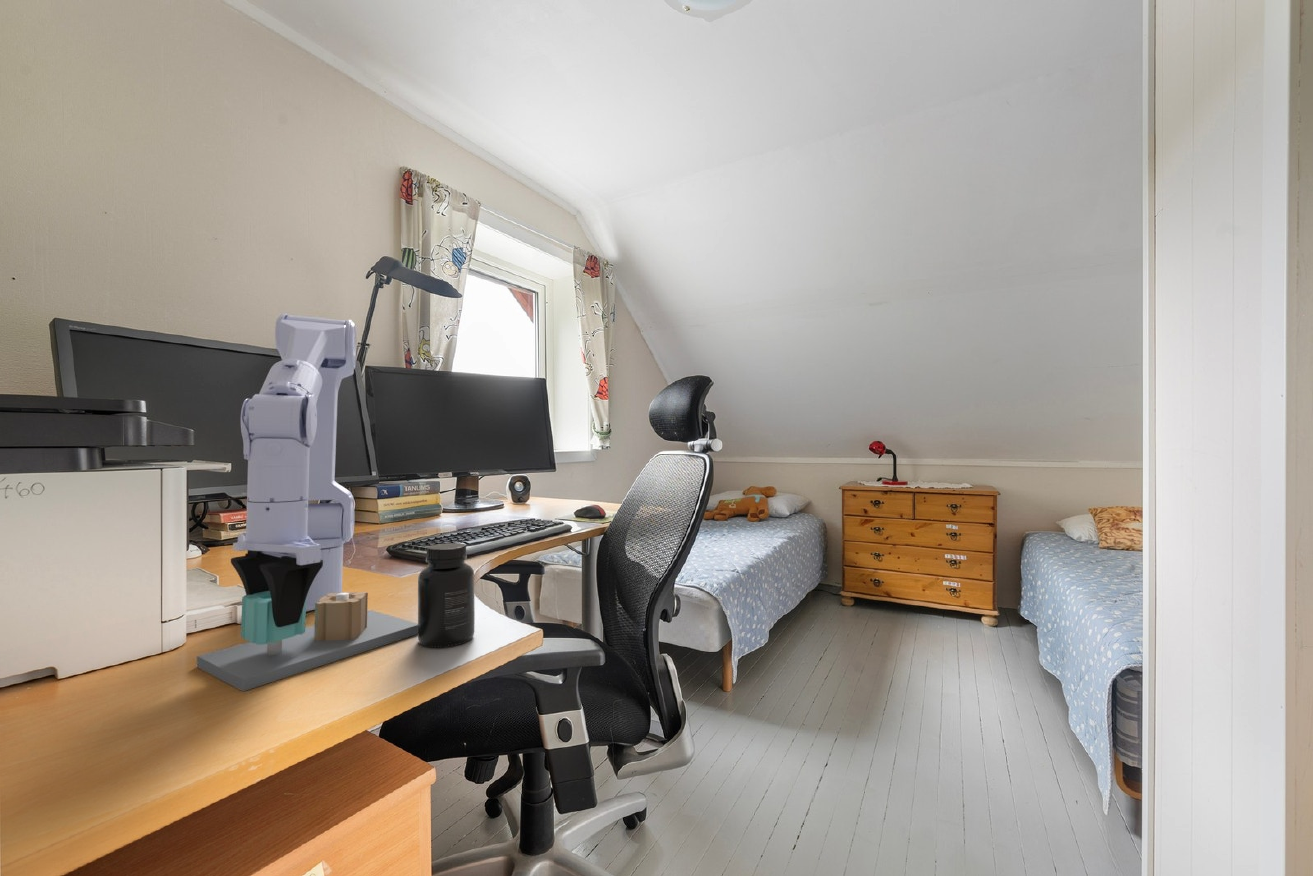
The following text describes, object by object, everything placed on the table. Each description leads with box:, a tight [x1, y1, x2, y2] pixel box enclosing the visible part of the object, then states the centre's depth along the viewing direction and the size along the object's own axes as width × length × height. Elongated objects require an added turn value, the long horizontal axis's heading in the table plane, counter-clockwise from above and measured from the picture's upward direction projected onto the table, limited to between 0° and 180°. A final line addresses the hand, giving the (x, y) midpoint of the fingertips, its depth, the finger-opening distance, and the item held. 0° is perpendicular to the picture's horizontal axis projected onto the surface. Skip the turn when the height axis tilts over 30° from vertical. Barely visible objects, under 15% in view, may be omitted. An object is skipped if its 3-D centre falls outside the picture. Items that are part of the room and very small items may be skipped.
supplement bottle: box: [417, 542, 476, 648], centre depth 69 cm, size 7×7×12 cm
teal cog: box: [240, 591, 307, 645], centre depth 61 cm, size 5×5×4 cm
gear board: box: [196, 591, 418, 692], centre depth 65 cm, size 11×20×6 cm, turn 149°
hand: (275, 620), depth 61 cm, fingers closed on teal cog, 5 cm apart
